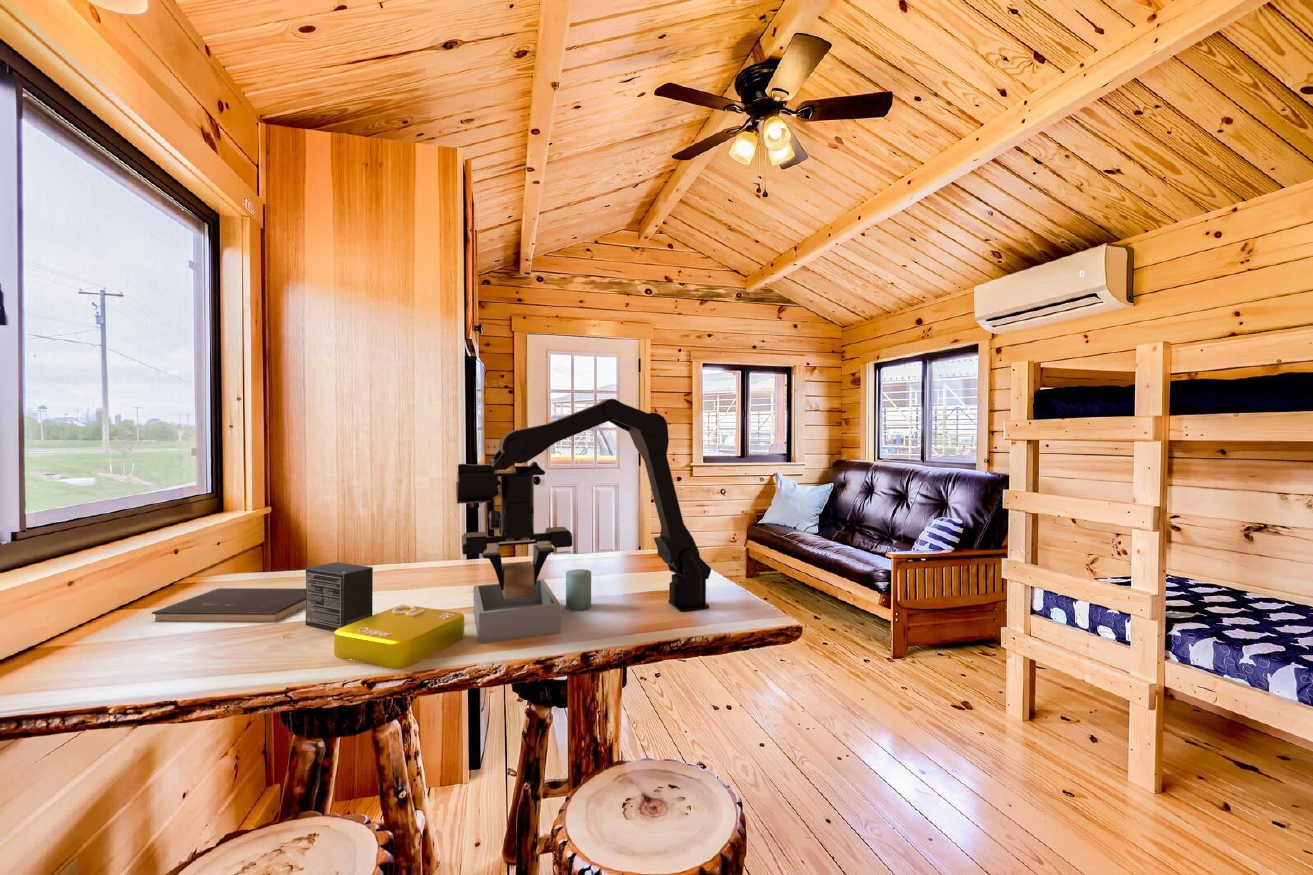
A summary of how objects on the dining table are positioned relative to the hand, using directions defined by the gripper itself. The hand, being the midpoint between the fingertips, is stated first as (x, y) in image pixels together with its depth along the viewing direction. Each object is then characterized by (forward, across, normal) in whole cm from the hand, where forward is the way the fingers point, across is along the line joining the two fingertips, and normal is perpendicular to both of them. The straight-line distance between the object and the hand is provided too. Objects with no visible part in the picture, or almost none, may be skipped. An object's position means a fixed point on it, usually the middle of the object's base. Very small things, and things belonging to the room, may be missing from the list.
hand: (517, 588), depth 100 cm
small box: (+7, +30, -14) cm, 34 cm away
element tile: (+8, +19, +1) cm, 20 cm away
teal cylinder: (+7, -13, -8) cm, 17 cm away
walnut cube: (+1, 0, 0) cm, 1 cm away
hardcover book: (+8, +49, -31) cm, 59 cm away
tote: (+7, 0, -4) cm, 8 cm away
